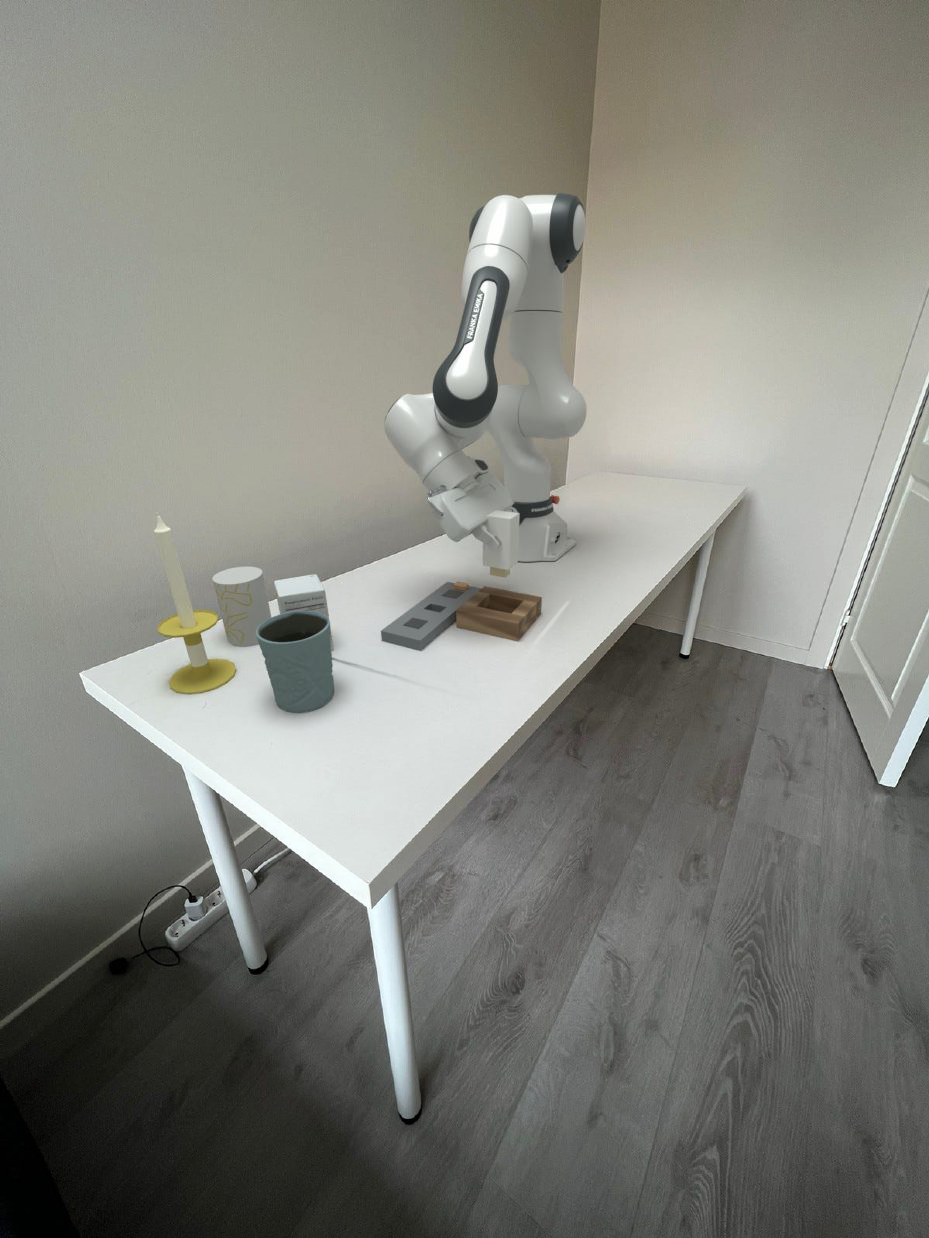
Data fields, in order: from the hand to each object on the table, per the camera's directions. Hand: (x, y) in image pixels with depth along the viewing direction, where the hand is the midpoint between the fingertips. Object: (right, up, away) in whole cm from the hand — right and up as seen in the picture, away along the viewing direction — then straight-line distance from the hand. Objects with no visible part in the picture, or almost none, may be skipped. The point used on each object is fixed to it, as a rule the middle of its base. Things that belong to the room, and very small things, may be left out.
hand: (504, 543), depth 93 cm
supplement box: (-34, -19, 0) cm, 39 cm away
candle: (-49, -23, -7) cm, 54 cm away
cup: (-46, -16, +5) cm, 49 cm away
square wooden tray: (0, -14, +8) cm, 16 cm away
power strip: (-12, -14, +9) cm, 21 cm away
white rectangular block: (0, -5, +3) cm, 6 cm away
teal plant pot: (-31, -25, -12) cm, 41 cm away
